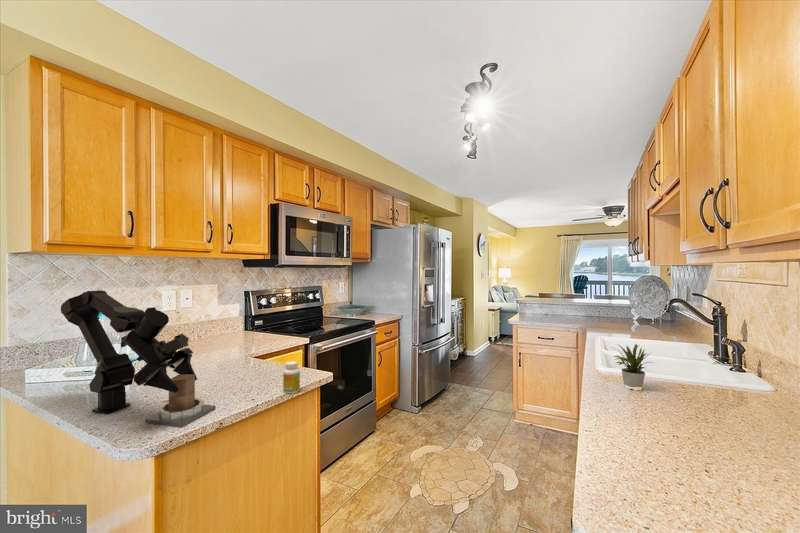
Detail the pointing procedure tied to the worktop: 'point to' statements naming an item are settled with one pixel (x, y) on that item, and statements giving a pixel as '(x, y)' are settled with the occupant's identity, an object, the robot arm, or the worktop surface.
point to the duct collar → (180, 414)
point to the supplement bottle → (291, 377)
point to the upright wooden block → (182, 393)
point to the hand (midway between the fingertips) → (187, 385)
